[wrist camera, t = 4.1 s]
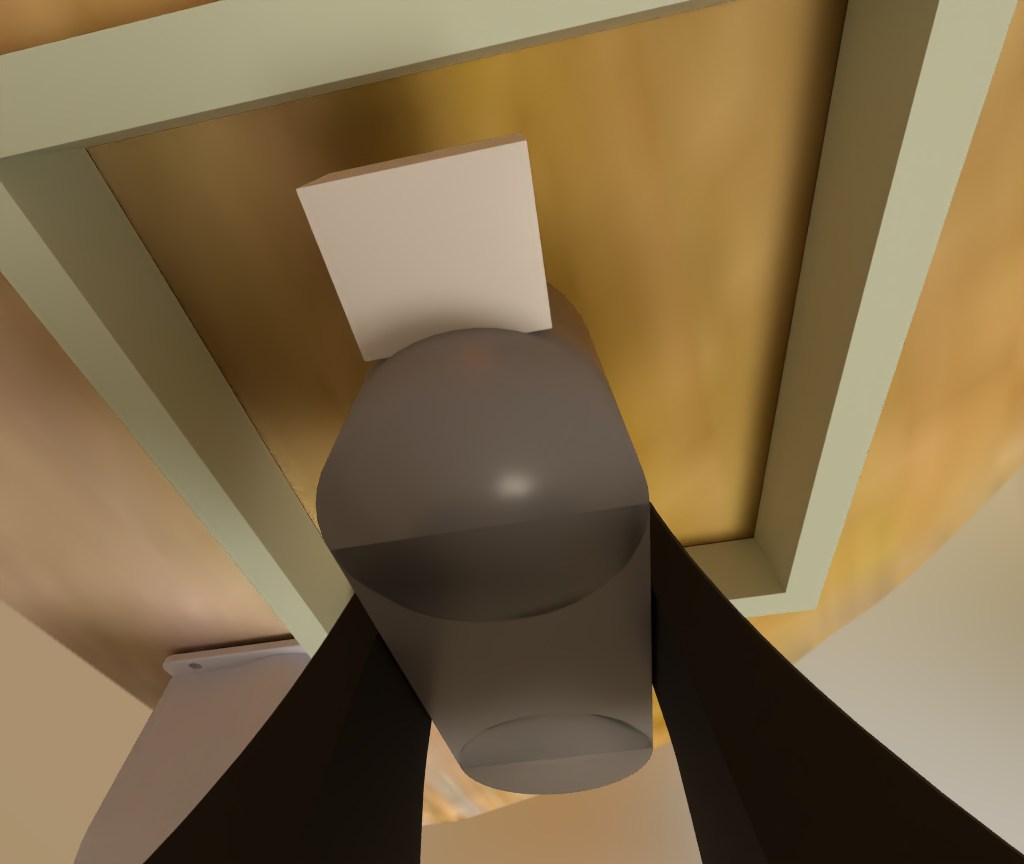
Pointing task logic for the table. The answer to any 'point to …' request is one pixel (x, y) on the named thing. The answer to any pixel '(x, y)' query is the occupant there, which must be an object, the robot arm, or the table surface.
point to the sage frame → (425, 46)
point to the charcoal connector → (486, 474)
